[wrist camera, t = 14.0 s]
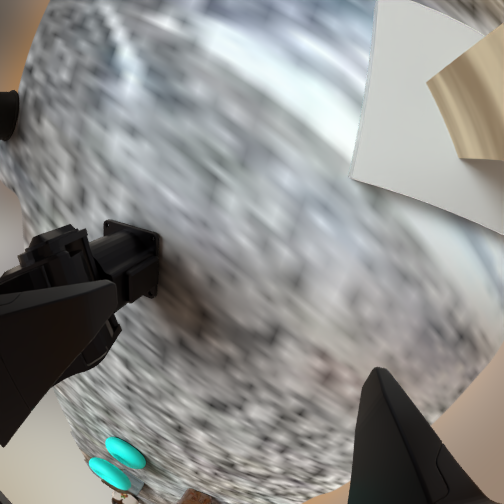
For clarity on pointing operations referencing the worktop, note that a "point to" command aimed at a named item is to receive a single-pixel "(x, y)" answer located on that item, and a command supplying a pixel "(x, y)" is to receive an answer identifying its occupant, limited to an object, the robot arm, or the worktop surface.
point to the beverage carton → (135, 484)
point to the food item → (194, 497)
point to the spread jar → (123, 498)
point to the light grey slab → (420, 117)
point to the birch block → (474, 98)
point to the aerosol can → (8, 113)
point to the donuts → (123, 455)
